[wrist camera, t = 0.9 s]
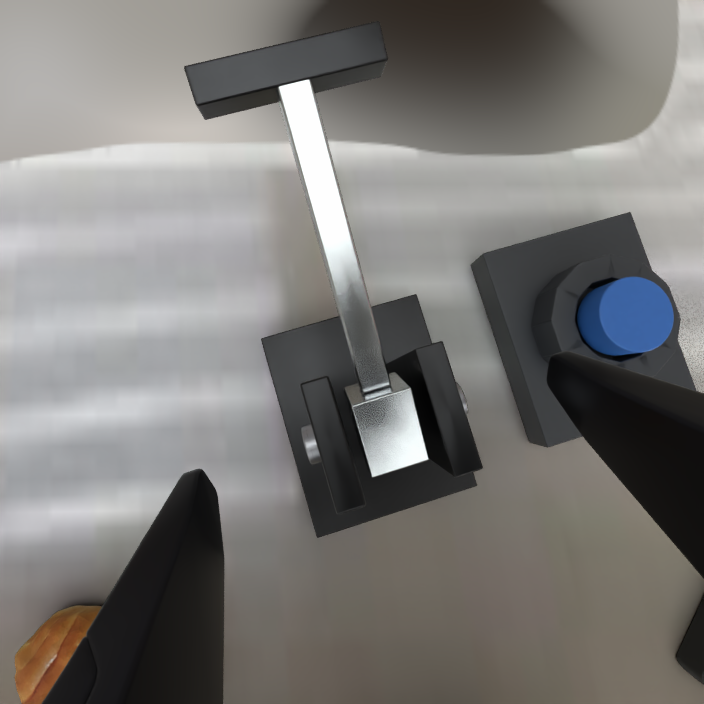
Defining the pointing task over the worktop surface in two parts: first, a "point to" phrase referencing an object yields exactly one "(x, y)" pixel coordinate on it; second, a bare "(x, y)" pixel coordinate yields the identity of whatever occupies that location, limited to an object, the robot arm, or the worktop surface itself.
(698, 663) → the smart home device
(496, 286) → the switch
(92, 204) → the worktop surface
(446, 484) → the tap bracket
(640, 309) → the button
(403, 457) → the tap lever
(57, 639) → the pastry
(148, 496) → the worktop surface
